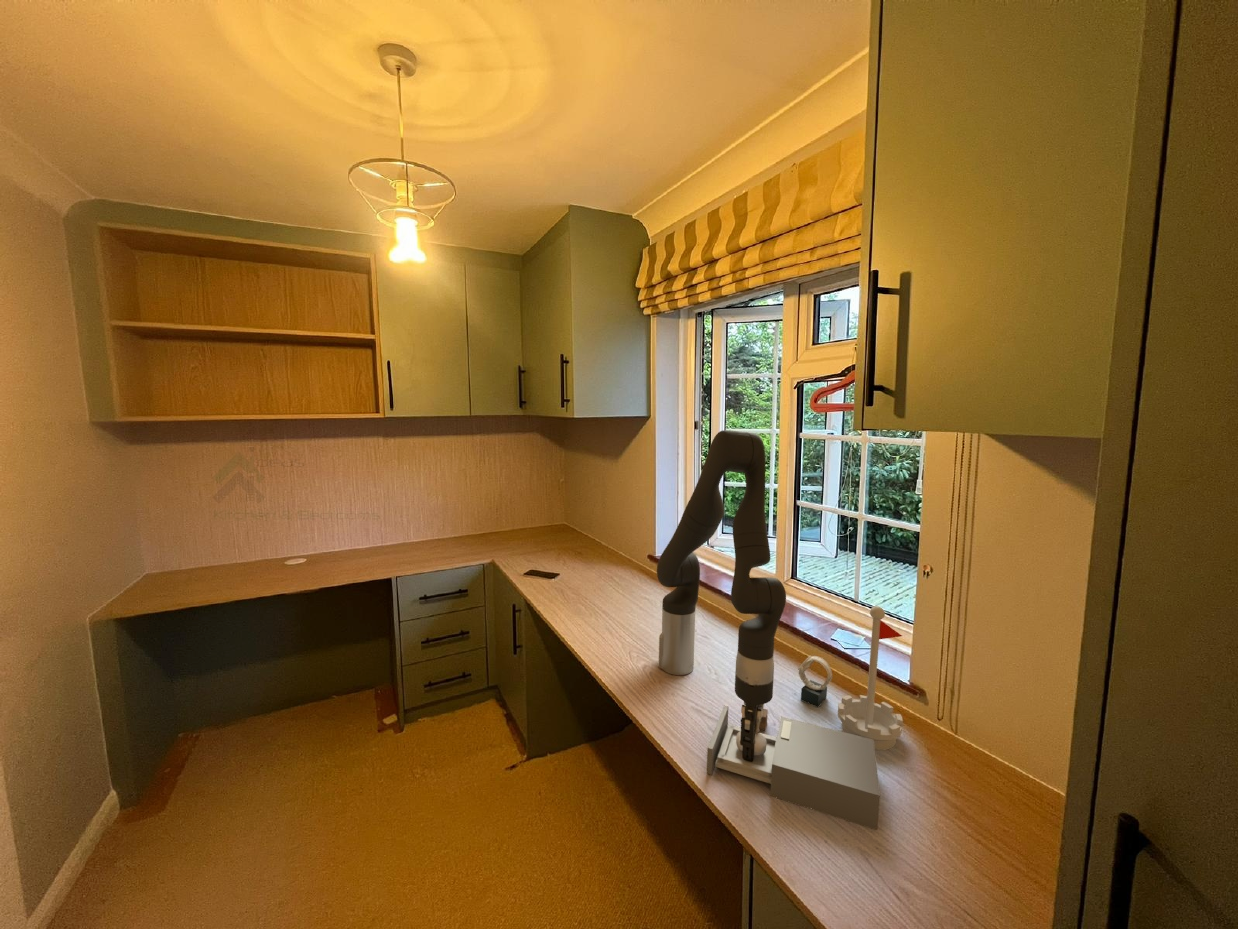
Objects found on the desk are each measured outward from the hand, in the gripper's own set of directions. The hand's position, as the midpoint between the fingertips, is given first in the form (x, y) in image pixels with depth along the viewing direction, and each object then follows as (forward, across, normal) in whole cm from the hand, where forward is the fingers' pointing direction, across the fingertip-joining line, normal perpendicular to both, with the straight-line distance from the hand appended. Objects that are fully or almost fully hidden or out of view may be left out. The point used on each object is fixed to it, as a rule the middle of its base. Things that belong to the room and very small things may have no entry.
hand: (750, 748), depth 102 cm
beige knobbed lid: (-1, 0, 0) cm, 1 cm away
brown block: (+3, -12, 0) cm, 13 cm away
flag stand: (+3, -20, +23) cm, 31 cm away
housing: (+3, 0, +14) cm, 14 cm away
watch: (+3, -30, +11) cm, 32 cm away
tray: (+2, 0, +2) cm, 3 cm away
